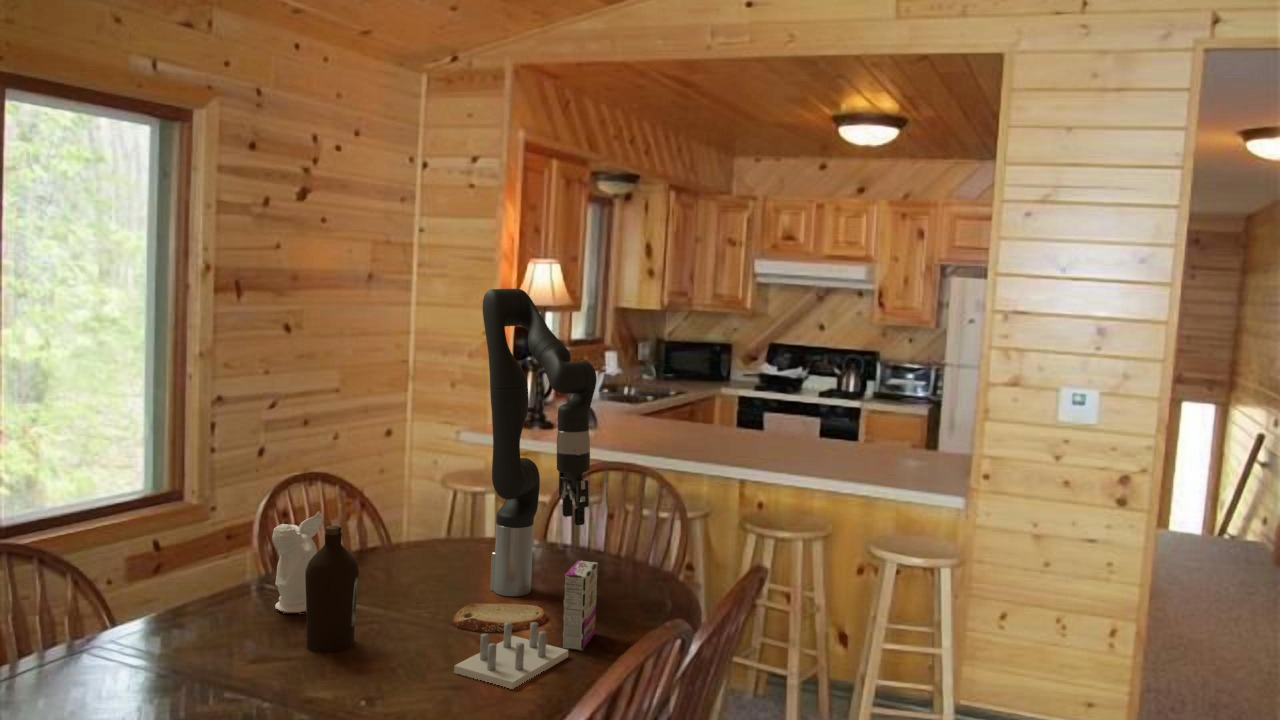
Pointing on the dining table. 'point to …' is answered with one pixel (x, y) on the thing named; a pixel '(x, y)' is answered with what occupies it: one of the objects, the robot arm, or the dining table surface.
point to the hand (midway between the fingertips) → (573, 520)
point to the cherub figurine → (294, 561)
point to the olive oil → (331, 595)
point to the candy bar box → (579, 605)
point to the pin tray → (511, 658)
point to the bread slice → (497, 617)
